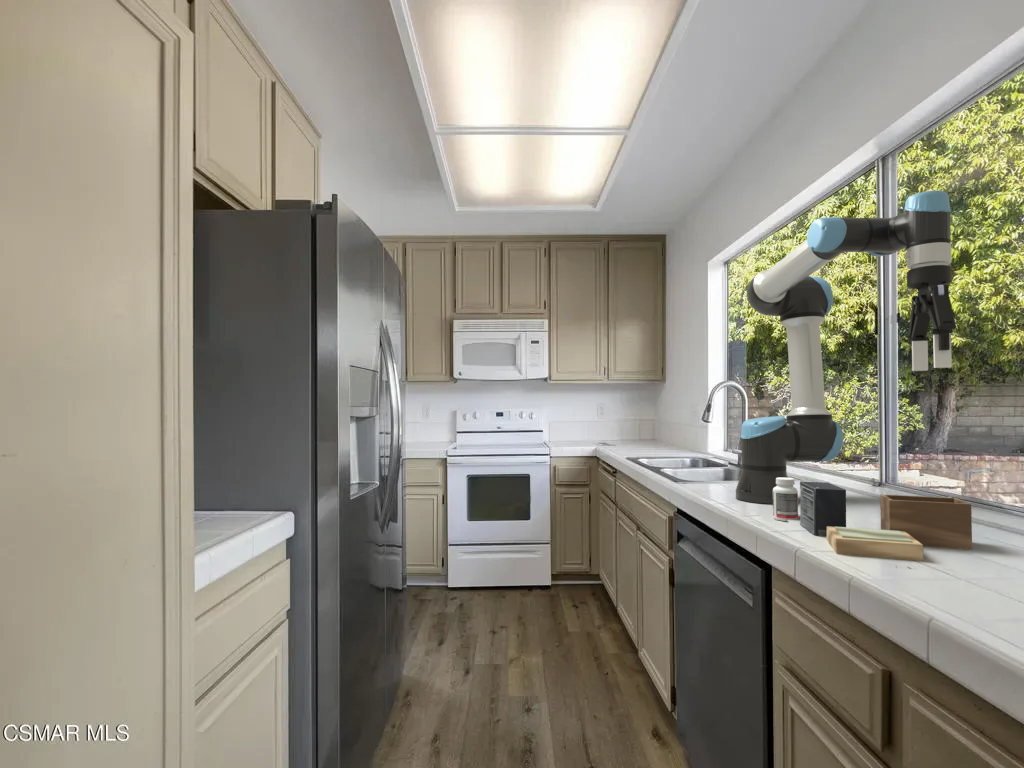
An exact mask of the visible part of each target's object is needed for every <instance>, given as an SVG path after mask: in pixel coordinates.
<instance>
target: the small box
mask: <svg viewBox="0 0 1024 768" xmlns="http://www.w3.org/2000/svg"><path fill="white" fill-rule="evenodd" d="M799 489H800V491H799V495H800V499H799V502H800V508H799V510H800V513H799V515H800V518H799V520H800V522H799V526H801V527H802V528H803V529H805V530H806V531H807V532H809V533H810V534H811V535H813V536H815V537H827V526H830V527H847V489H846V488H845V489H844V488H843V487H841V486H838V485H835V484H832V483H830V482H818V481H806V480H805V481H803V480H801V481H799Z"/></svg>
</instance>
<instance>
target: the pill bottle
mask: <svg viewBox="0 0 1024 768" xmlns="http://www.w3.org/2000/svg"><path fill="white" fill-rule="evenodd" d="M776 484H777V486H776V487H774V488H773V504H772V516H773V519H774V520H776V521H781V522H788V520H797V519H799V492H798V489H797V488H796V487H794V486H795V485H796V483H795V478H793V477H788V478H785V477H779V478H776Z"/></svg>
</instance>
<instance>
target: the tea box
mask: <svg viewBox="0 0 1024 768" xmlns="http://www.w3.org/2000/svg"><path fill="white" fill-rule="evenodd" d="M879 501H880V502H879V503H880V506H879V507H880V530H894V531H905V532H906V533H908V534H909V535H910V536H912V537H913V538H914V539H916V540H917V541H918V542H920V543H921V544H922V545H923V547H931V548H947V549H958V550H959V549H960V550H973V528H972V527H973V525H972V524H973V522H972V521H973V519H972V517H973V516H972V504H971V503H969V502H967V501H964V500H962V499H959V498H957V497H940V496H938V497H937V496H920V495H919V496H918V495H902V494H901V495H900V494H899V495H897V494H880V495H879Z"/></svg>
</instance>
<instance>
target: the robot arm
mask: <svg viewBox="0 0 1024 768" xmlns="http://www.w3.org/2000/svg"><path fill="white" fill-rule="evenodd" d="M951 212H952V209H951V204H950V196H949V194H948V192H946V191H943V190H927V191H922V192H917V193H914V194H912V195H910V196H909V197H908V198H907V199H906V200H905V204H904V212H902V213H900V214H897V215H895V216H892V217H841V216H840V217H839V216H829V217H821V218H820V217H819V218H817V219H815V220H813V221H812V223H811V224H810V227H809V228H808V230H807V232H806V233H807V234H806V239H805V240H804V241H802V243H800V244H799V245H798V246H796V248H794V249H793V250H792V251H790V252H789V253H788V254H787V255H785V256H784V257H783V258H781V259H780V260H779V261H777V263H775V264H774V265H773V266H772V267H770V268H769V269H766V270H762V271H760V272H758V274H756V275H755V276H754V277H752V279H751V280H750V282H749V283H748V285H747V288H746V299H747V302H748V304H749V306H750V307H751V308H752V309H753V310H754V311H756V312H757V313H759V314H761V315H764V316H769V317H770V316H771V317H780V325H781V326H783V328H785V329H786V341H787V354H788V370H789V384H790V385H789V386H790V388H789V389H790V400H791V401H790V403H791V410H790V411H789V412H788V413H787V414H786V415H785V416H786V417H785V416H782V415H781V416H779V415H775V416H773V415H772V416H764V417H756V418H755V417H754V418H750V419H746V420H744V421H743V422H742V424H741V431H740V432H741V434H740V438H741V441H740V442H741V443H740V444H741V447H740V448H741V473H740V476H739V478H738V482H737V485H736V488H735V499H737V500H740V501H745V502H748V503H757V504H767V505H768V504H769V505H770V504H771V505H773V488H774V487H776V486H777V484H776V478H779V477H785V478H789V476H788V472H787V463H809V462H810V463H820V462H829V461H832V460H834V459H835V458H837V456H838V455H839V454H840V453H841V450H842V448H843V444H844V432H843V428H842V427H841V425H840V423H838V422H837V421H835V420H833V414H832V413H831V412H830V411H829V410H827V408H826V401H825V398H826V397H825V387H824V385H825V384H824V372H823V371H824V369H823V356H822V355H823V354H822V343H821V342H822V341H821V340H822V339H821V327H820V326H821V325H822V324H823V323H824V321H825V320H826V316H827V315H828V314H829V313H830V312H831V310H832V308H833V307H832V306H833V304H834V293H833V290H832V287H831V285H830V283H829V282H828V281H827V280H825V278H824V277H821V276H820V277H819V276H814V275H813V276H811V275H812V274H814V273H815V272H816V271H818V270H820V269H821V268H823V266H825V265H826V264H828V263H829V262H831V261H833V260H834V259H835V258H837V257H838V256H840V255H841V254H844V253H868V254H869V255H870V256H872V257H884V256H890V255H893V254H895V253H897V252H899V251H900V252H901V251H902V250H906V253H904V254H903V258H905V259H906V268H907V269H909V270H908V271H907V272H906V286H907V288H908V289H911V290H917V295H912V297H911V312H910V319H909V320H910V321H909V328H908V335H907V338H908V340H910V342H911V360H912V361H911V362H912V363H911V364H912V368H911V369H912V372H916V371H917V372H919V371H922V372H924V371H926V372H927V371H929V346H928V345H929V343H928V342H929V341H930V337H929V336H927V334H928V330H929V326H930V322H931V325H932V327H933V328H931V329H932V330H931V333H930V334H931V335H932V340H933V341H932V342H933V369H946V368H952V366H953V364H952V361H953V360H952V333H953V330H955V329H956V327H957V324H956V320H955V316H954V311H953V307H952V303H951V299H950V292H949V291H950V290H949V288H950V287H949V285H951V283H952V281H953V279H952V278H953V277H952V266H950V265H951V264H952V261H953V259H952V243H951V242H952V241H951Z"/></svg>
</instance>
